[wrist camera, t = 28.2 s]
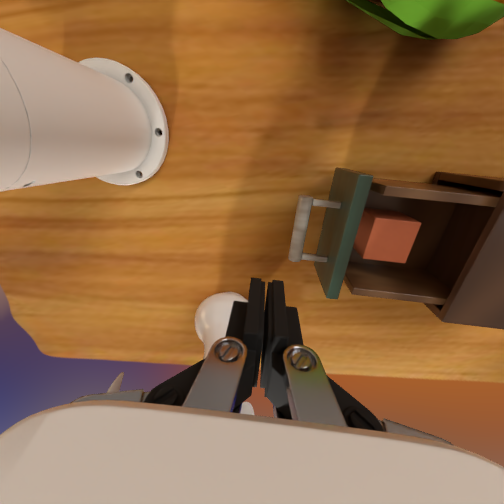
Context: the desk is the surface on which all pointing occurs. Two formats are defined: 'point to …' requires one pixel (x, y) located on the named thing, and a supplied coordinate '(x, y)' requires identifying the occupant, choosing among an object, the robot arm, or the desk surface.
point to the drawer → (424, 247)
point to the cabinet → (478, 264)
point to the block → (385, 235)
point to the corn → (435, 16)
